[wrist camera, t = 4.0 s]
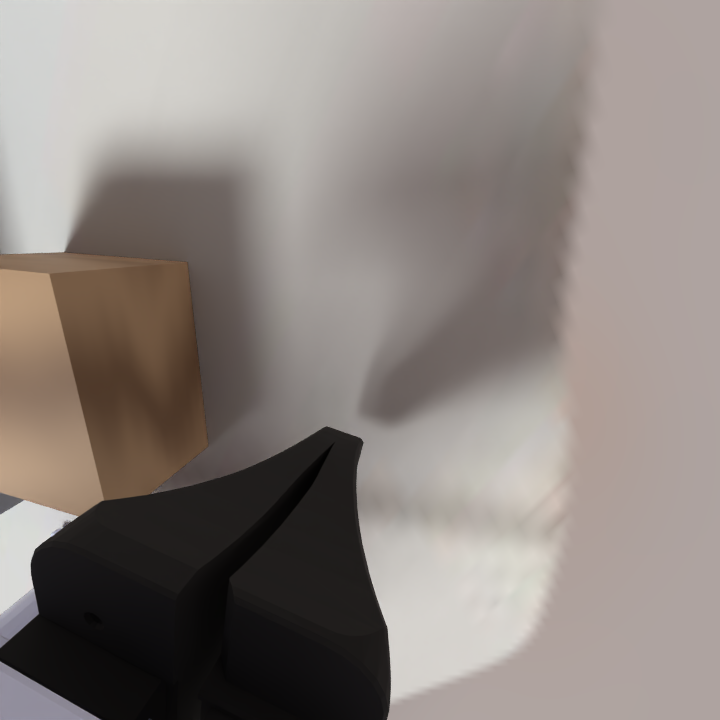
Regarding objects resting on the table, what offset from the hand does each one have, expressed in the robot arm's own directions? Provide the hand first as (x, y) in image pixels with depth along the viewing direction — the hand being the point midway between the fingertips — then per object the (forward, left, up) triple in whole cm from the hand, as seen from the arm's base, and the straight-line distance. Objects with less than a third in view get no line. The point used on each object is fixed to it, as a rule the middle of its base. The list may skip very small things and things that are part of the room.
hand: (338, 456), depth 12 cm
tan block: (0, +10, -2) cm, 10 cm away
